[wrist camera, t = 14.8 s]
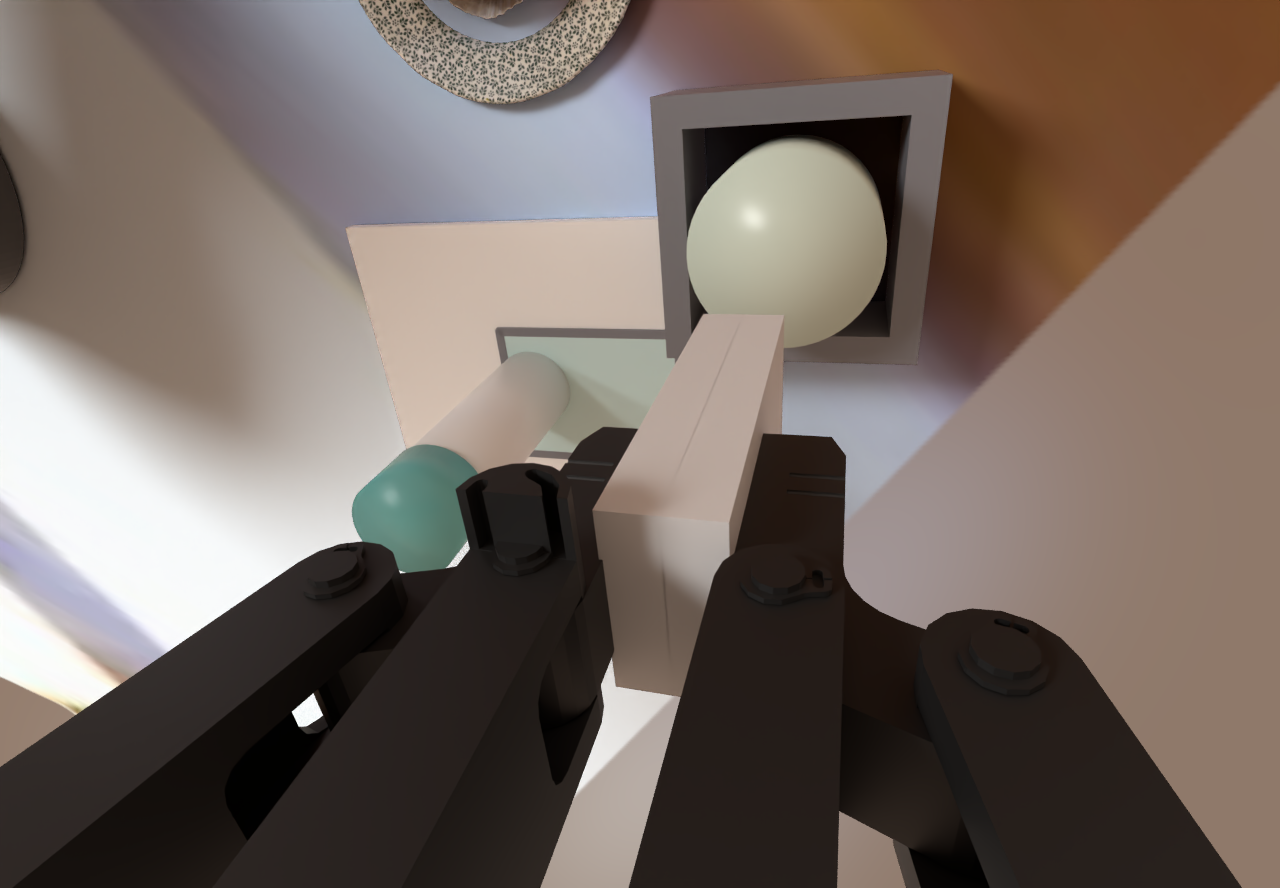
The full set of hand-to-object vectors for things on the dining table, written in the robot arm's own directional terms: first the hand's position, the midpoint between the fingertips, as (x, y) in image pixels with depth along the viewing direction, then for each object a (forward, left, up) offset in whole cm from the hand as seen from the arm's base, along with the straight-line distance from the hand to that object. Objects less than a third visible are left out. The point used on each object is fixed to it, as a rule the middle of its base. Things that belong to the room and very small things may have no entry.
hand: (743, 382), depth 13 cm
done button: (0, 0, -13) cm, 13 cm away
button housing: (0, 0, -16) cm, 16 cm away
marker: (-12, -7, -15) cm, 21 cm away
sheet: (-11, -7, -16) cm, 21 cm away
